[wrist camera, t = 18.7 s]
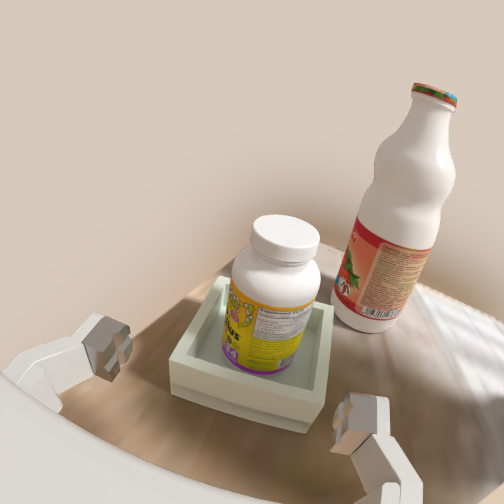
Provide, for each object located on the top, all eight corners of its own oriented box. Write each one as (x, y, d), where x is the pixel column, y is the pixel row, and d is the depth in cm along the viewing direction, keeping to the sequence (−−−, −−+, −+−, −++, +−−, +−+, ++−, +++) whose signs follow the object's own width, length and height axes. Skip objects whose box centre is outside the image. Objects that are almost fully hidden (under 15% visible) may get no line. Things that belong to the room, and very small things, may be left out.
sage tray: (320, 340, 34) (334, 306, 31) (305, 434, 24) (324, 404, 21) (215, 311, 35) (219, 275, 33) (171, 394, 25) (168, 359, 23)
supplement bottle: (222, 325, 31) (238, 203, 24) (288, 330, 32) (322, 214, 25) (219, 379, 25) (237, 248, 19) (296, 384, 26) (345, 260, 19)
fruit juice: (379, 347, 34) (476, 99, 19) (314, 308, 38) (380, 68, 24) (403, 311, 40) (478, 110, 26) (347, 279, 45) (405, 84, 31)
